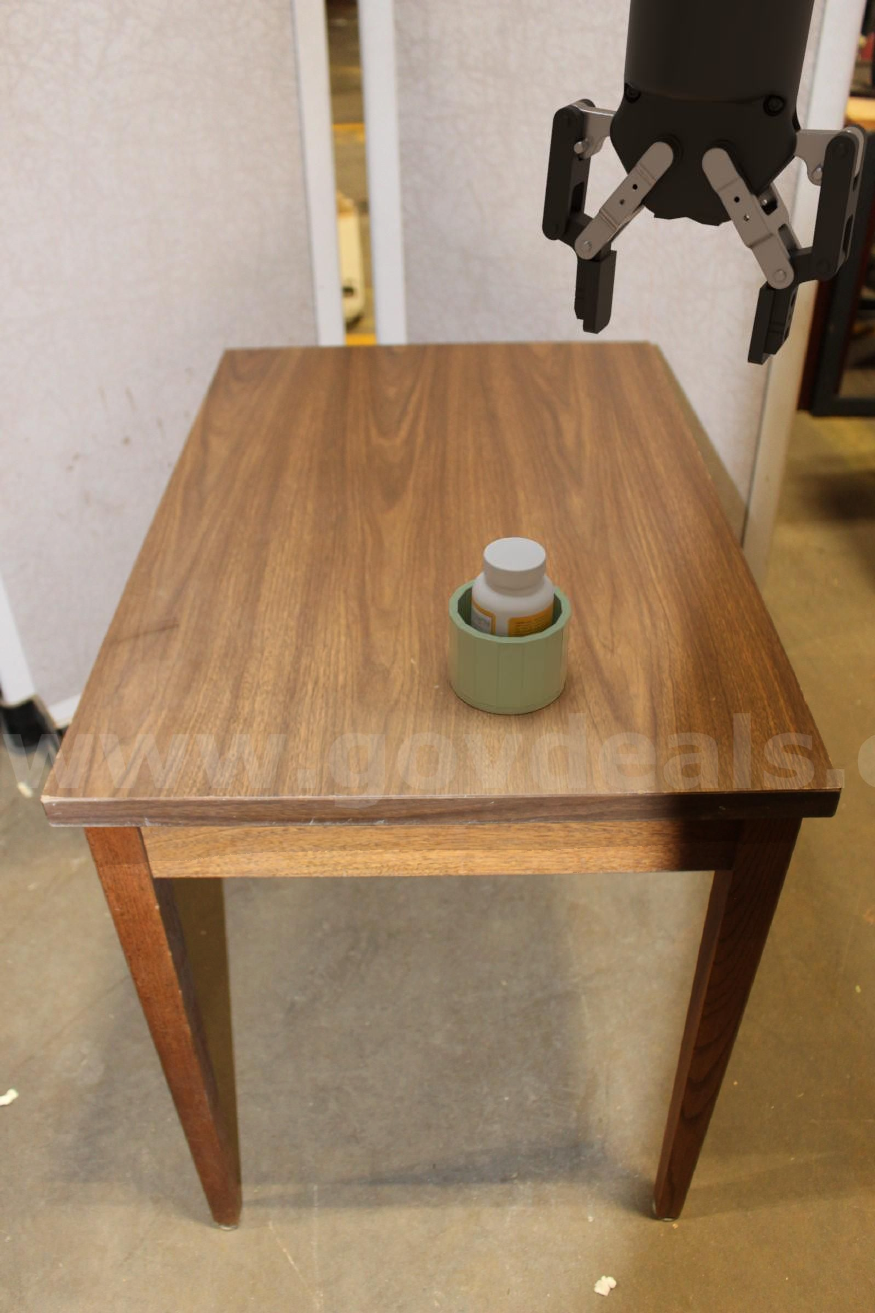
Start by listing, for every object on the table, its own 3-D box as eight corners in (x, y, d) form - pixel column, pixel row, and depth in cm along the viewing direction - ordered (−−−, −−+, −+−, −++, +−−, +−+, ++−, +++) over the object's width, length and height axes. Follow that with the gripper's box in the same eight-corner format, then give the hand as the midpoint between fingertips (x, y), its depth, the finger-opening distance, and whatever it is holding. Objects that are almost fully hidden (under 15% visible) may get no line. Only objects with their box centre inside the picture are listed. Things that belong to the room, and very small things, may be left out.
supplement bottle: (460, 687, 72) (460, 567, 66) (483, 642, 76) (485, 525, 70) (537, 703, 71) (544, 582, 65) (557, 656, 75) (565, 538, 69)
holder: (476, 727, 70) (477, 654, 66) (432, 658, 76) (431, 587, 72) (585, 697, 72) (592, 625, 68) (534, 632, 78) (538, 563, 74)
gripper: (529, -40, 44) (515, 343, 54) (889, -26, 38) (799, 398, 48) (598, -53, 49) (574, 298, 59) (924, -43, 44) (837, 343, 53)
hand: (675, 343), depth 54 cm, fingers open, 8 cm apart
